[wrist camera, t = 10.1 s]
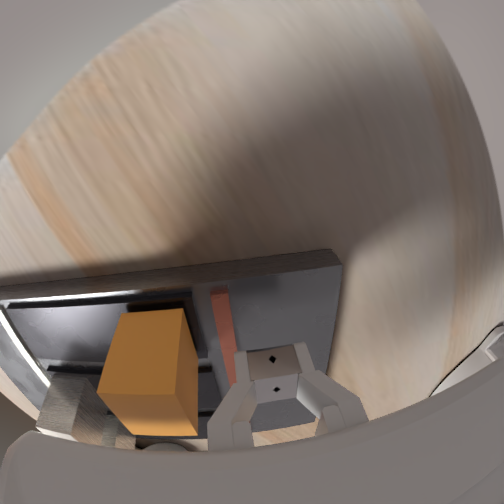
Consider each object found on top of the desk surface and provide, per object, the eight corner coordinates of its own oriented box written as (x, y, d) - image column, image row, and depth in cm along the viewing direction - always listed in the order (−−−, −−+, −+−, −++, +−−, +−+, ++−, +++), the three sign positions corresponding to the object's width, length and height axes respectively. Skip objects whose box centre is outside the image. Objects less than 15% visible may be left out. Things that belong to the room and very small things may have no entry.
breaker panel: (330, 248, 14) (392, 337, 8) (310, 407, 22) (328, 469, 16) (-32, 289, 12) (-73, 344, 7) (56, 412, 20) (43, 461, 14)
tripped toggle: (182, 308, 12) (174, 394, 8) (198, 359, 14) (197, 435, 10) (121, 313, 12) (96, 392, 8) (144, 361, 13) (132, 434, 9)
